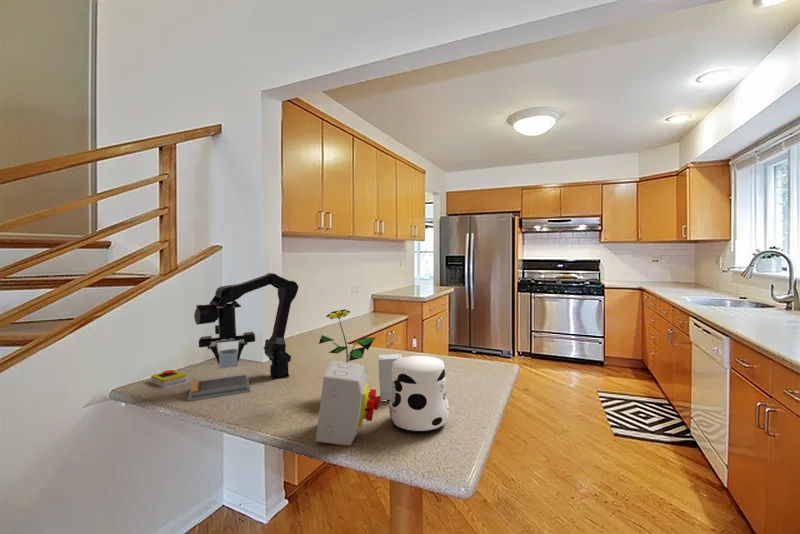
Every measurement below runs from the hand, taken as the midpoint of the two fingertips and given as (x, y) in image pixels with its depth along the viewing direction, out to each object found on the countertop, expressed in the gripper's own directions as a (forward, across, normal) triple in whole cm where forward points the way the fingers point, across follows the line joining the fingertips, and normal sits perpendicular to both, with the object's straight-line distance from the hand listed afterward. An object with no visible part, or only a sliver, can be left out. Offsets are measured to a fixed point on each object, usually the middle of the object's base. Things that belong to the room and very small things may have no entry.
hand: (228, 362), depth 141 cm
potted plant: (+11, -37, +29) cm, 48 cm away
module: (+1, 0, 0) cm, 1 cm away
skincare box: (+11, -51, +34) cm, 62 cm away
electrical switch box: (+10, -31, +52) cm, 62 cm away
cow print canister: (+11, -51, +55) cm, 76 cm away
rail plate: (+10, +3, -1) cm, 11 cm away
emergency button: (+11, +22, -21) cm, 32 cm away
